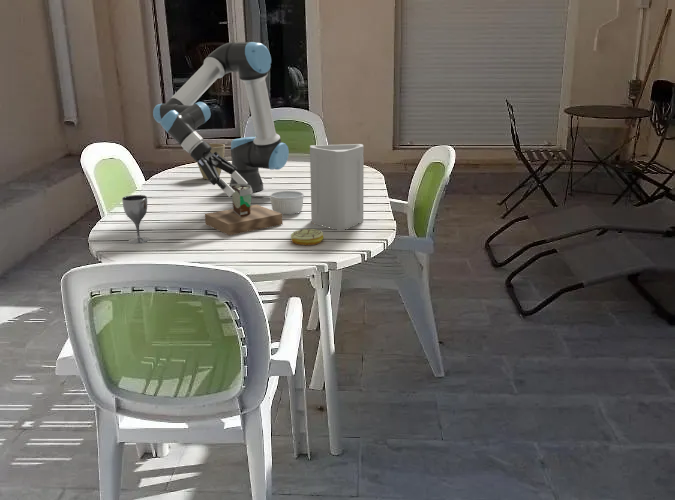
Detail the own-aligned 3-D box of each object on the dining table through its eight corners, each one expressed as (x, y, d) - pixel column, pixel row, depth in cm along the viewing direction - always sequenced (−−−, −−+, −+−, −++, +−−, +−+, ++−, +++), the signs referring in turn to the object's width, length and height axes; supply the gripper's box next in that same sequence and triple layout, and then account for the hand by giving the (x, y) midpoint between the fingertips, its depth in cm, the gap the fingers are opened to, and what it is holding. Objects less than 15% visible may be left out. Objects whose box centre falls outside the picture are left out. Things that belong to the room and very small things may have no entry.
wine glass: (138, 245, 224) (133, 201, 220) (121, 241, 228) (116, 198, 224) (156, 239, 231) (151, 196, 226) (139, 236, 235) (135, 193, 230)
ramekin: (289, 205, 274) (288, 188, 272) (311, 211, 265) (310, 193, 263) (263, 211, 266) (263, 194, 263) (285, 217, 257) (284, 199, 254)
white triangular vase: (314, 231, 239) (312, 152, 230) (311, 220, 253) (309, 145, 244) (367, 229, 241) (368, 150, 232) (361, 218, 255) (362, 144, 246)
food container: (258, 215, 244) (256, 188, 240) (241, 217, 241) (240, 190, 238) (248, 208, 254) (246, 182, 251) (232, 210, 252) (230, 183, 249)
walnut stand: (257, 214, 261) (256, 204, 260) (282, 224, 247) (282, 213, 246) (205, 224, 248) (204, 213, 247) (229, 235, 235) (228, 224, 233)
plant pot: (233, 177, 329) (231, 144, 324) (212, 182, 317) (210, 149, 312) (210, 174, 336) (208, 142, 331) (189, 179, 324) (186, 146, 320)
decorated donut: (298, 236, 233) (298, 226, 232) (327, 239, 230) (327, 228, 229) (286, 245, 224) (286, 234, 223) (317, 248, 221) (316, 236, 220)
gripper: (204, 148, 255) (244, 189, 256) (175, 160, 232) (219, 205, 233) (216, 134, 252) (256, 175, 254) (188, 145, 229) (233, 190, 231)
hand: (239, 190), depth 243 cm, fingers open, 13 cm apart
